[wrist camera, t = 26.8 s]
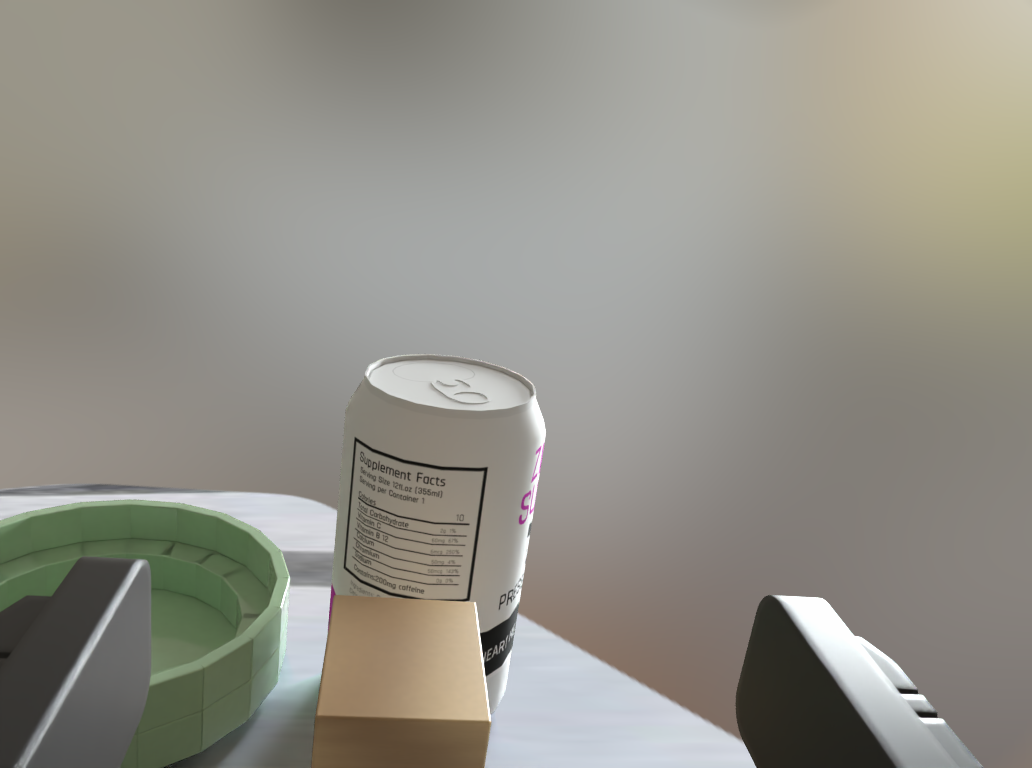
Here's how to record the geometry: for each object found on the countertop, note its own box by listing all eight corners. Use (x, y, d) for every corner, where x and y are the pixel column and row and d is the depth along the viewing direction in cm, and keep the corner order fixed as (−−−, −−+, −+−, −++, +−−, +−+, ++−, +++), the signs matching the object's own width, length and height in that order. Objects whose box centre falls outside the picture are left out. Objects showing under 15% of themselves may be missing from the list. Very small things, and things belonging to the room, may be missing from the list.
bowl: (259, 565, 47) (262, 491, 46) (311, 759, 34) (318, 664, 33) (-68, 594, 41) (-76, 510, 40) (-157, 845, 28) (-171, 733, 27)
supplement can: (298, 657, 40) (319, 353, 36) (451, 621, 45) (487, 347, 40) (365, 775, 34) (401, 424, 29) (537, 720, 38) (591, 407, 34)
